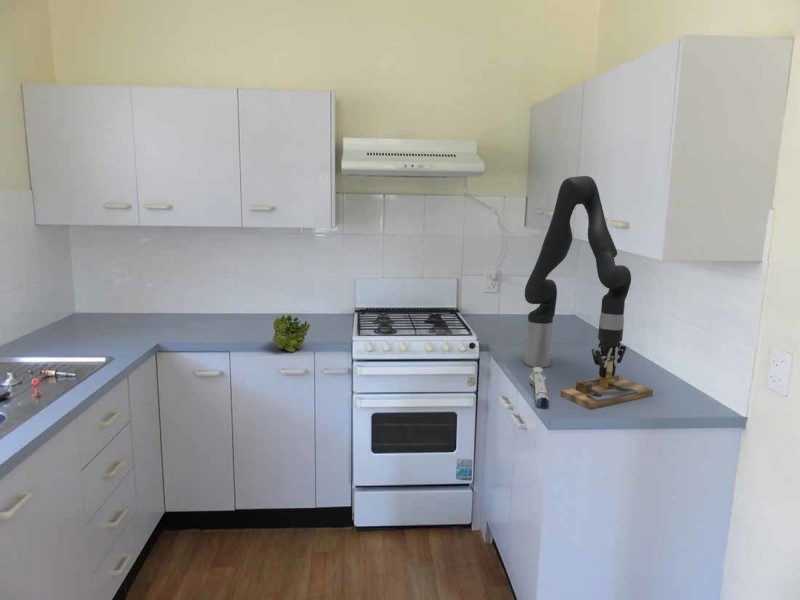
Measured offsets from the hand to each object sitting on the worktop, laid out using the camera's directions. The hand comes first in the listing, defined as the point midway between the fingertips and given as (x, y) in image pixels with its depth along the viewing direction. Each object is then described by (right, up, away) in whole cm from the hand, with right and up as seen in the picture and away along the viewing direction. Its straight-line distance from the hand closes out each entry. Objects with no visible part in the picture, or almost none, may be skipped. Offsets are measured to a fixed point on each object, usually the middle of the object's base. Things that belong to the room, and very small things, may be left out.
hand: (606, 376), depth 189 cm
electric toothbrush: (-23, -6, -1) cm, 24 cm away
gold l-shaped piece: (+1, -4, -1) cm, 4 cm away
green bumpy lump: (-114, +5, +47) cm, 124 cm away
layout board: (-1, -6, -2) cm, 7 cm away
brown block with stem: (-8, -5, -6) cm, 11 cm away
